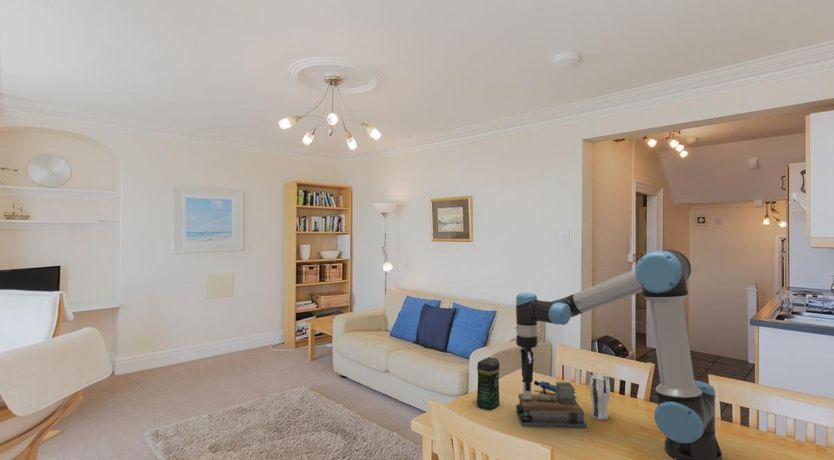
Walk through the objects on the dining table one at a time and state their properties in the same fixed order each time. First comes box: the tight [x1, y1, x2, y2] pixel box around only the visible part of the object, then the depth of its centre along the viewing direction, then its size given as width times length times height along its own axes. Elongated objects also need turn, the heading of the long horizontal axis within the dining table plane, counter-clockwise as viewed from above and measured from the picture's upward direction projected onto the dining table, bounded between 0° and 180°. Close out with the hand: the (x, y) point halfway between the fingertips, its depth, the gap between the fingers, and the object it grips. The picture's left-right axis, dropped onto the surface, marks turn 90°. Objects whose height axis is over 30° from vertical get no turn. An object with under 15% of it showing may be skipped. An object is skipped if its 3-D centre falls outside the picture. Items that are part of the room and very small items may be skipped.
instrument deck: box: [518, 381, 582, 413], centre depth 156 cm, size 12×20×8 cm, turn 86°
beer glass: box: [589, 373, 611, 421], centre depth 159 cm, size 7×7×15 cm
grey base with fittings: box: [515, 401, 588, 429], centre depth 156 cm, size 12×23×5 cm, turn 86°
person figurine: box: [533, 380, 577, 399], centre depth 180 cm, size 11×4×18 cm
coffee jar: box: [476, 356, 500, 410], centre depth 170 cm, size 10×8×19 cm
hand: (527, 398), depth 157 cm, fingers closed
